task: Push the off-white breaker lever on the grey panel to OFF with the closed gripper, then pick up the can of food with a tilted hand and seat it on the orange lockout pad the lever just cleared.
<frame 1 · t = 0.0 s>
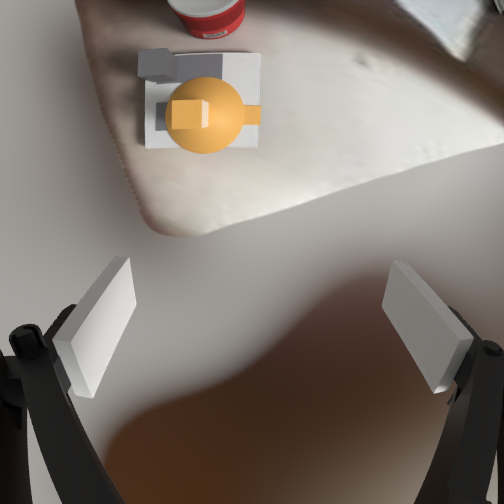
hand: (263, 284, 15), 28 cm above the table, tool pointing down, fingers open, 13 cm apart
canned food: (214, 15, 32), on the table
pneumatic valve: (497, 4, 28), on the table
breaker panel: (202, 100, 37), on the table
breaker lever: (191, 114, 32), point 6 cm above the table, slide at 0.0 cm
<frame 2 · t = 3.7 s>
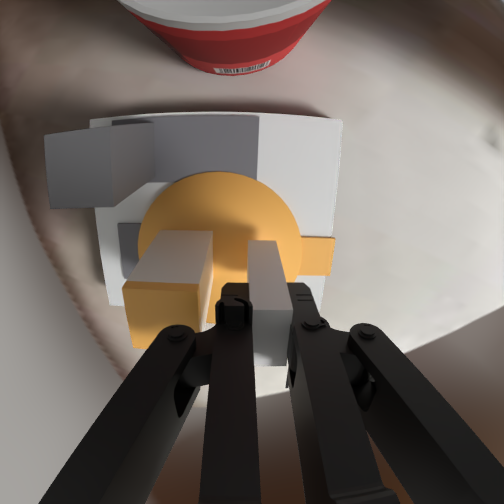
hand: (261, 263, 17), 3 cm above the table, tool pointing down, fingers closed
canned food: (236, 20, 15), on the table
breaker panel: (213, 210, 20), on the table
breaker lever: (176, 282, 15), point 6 cm above the table, slide at 0.8 cm, touching gripper
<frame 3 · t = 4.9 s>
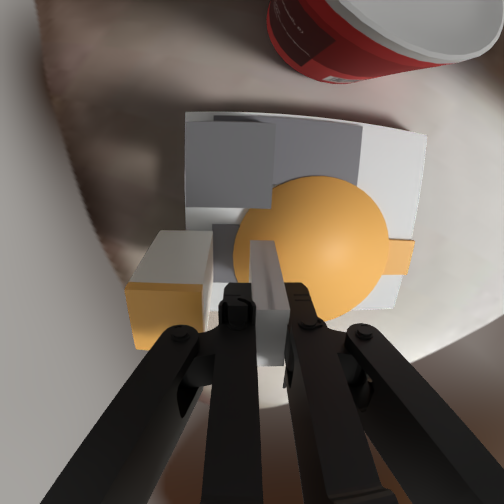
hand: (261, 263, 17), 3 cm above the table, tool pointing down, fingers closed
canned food: (329, 29, 15), on the table
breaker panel: (302, 213, 20), on the table
breaker lever: (178, 283, 15), point 6 cm above the table, slide at 6.4 cm, touching gripper
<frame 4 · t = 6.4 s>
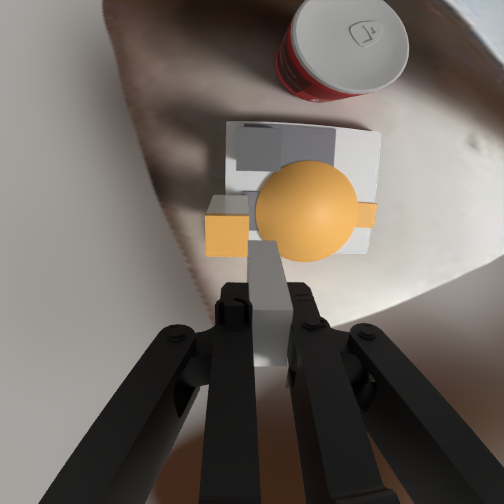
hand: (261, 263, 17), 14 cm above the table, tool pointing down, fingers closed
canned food: (315, 65, 26), on the table
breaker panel: (300, 186, 30), on the table
breaker lever: (228, 222, 25), point 6 cm above the table, slide at 6.0 cm
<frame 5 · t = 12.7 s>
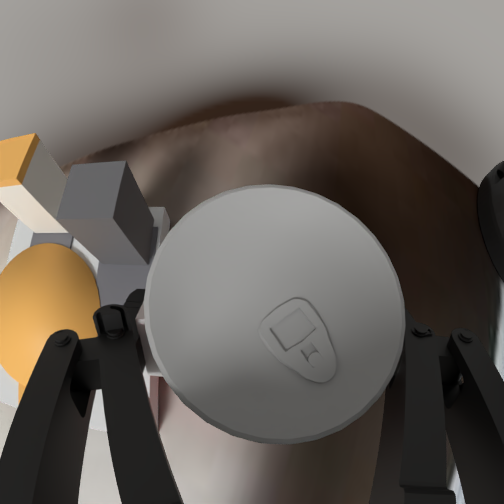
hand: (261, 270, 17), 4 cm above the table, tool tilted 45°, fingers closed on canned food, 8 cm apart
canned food: (257, 342, 19), on the table, touching gripper
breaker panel: (77, 316, 19), on the table
breaker lever: (33, 188, 16), point 6 cm above the table, slide at 6.0 cm
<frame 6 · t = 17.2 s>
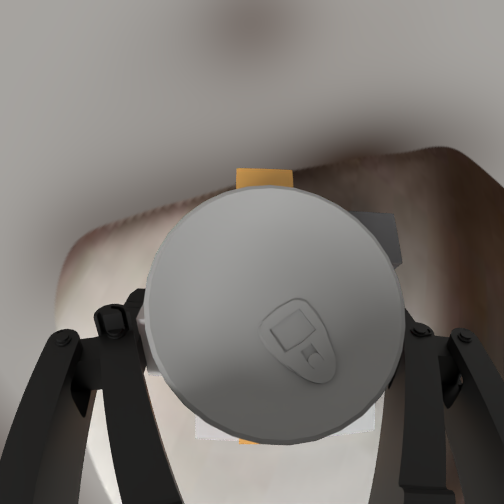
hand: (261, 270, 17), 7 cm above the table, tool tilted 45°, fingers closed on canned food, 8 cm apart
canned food: (257, 343, 19), point 3 cm above the table, touching gripper
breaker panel: (284, 339, 22), on the table
breaker lever: (261, 220, 19), point 6 cm above the table, slide at 6.0 cm
when the fingers open (7 cm above the table, at t = 17.4 s): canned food drops 1 cm, resting on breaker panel.
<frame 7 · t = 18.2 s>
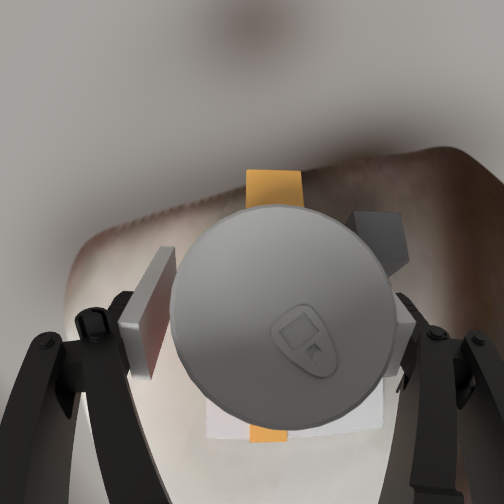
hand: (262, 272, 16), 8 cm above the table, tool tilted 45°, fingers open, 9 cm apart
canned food: (266, 343, 20), point 2 cm above the table, touching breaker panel, gripper
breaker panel: (293, 338, 23), on the table
breaker lever: (270, 221, 20), point 6 cm above the table, slide at 6.0 cm
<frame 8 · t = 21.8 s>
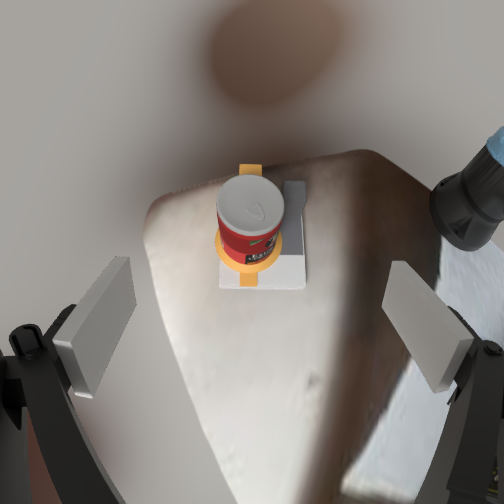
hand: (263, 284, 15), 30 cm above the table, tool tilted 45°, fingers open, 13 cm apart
voltmeter: (473, 453, 36), on the table
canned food: (247, 241, 46), point 2 cm above the table, touching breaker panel
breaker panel: (261, 243, 48), on the table
breaker lever: (249, 186, 45), point 6 cm above the table, slide at 6.0 cm
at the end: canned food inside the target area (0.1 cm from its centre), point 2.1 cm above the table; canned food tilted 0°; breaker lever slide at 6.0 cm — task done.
